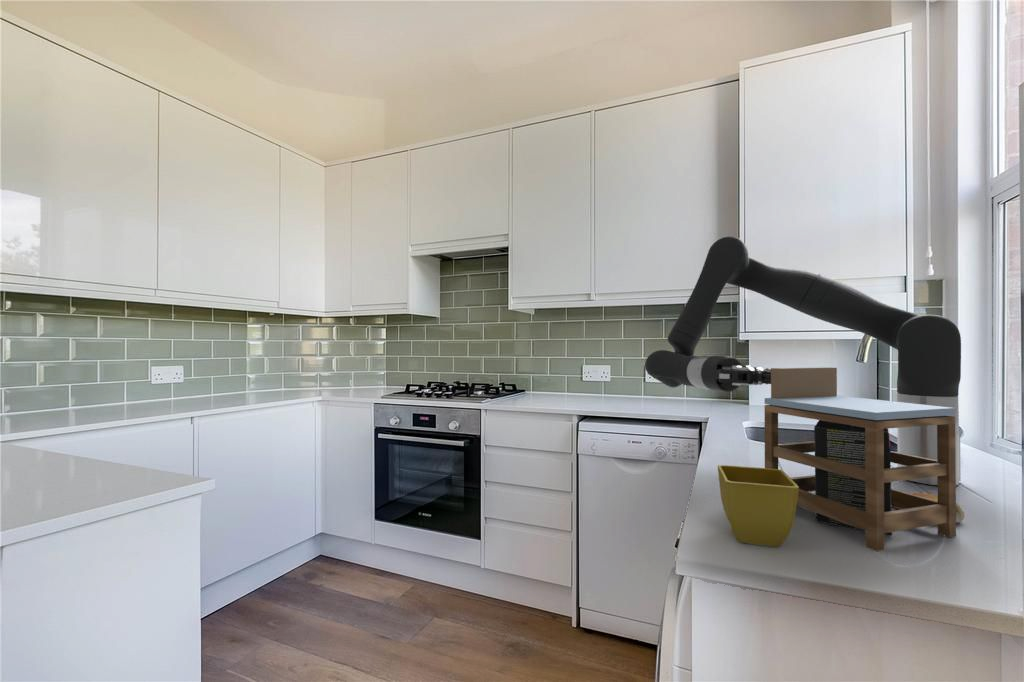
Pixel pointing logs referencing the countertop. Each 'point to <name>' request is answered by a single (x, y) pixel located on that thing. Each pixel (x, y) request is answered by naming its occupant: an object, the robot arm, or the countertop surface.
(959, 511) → the pastry
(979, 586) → the countertop surface
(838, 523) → the tampon box
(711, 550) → the countertop surface
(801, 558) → the countertop surface
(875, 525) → the crate
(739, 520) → the flower pot
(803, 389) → the lid
